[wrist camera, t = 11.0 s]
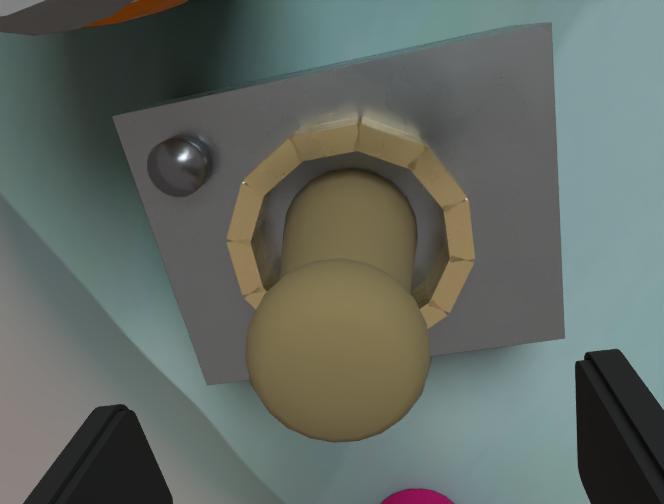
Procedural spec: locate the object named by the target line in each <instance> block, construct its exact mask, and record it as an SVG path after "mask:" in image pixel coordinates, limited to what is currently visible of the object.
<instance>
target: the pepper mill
mask: <svg viewBox="0 0 664 504" xmlns="http://www.w3.org/2000/svg"><path fill="white" fill-rule="evenodd" d="M381 504H454V503H453V502H452V501H450V500H449V499H448V498H447V497H446V496H444V495H442V494H439V493H437V492H435V491H431V490H426V489H408V490H404V491H400V492H397V493H395V494H393V495H391V496H389V497H388V498H387V499H386V500H384V501H383V502H382V503H381Z"/></svg>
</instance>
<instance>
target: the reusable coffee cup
mask: <svg viewBox="0 0 664 504" xmlns="http://www.w3.org/2000/svg"><path fill="white" fill-rule="evenodd" d="M187 1H188V0H0V32H5V33H15V34H25V35H40V34H48V33H56V32H64V31H72V30H76V29H79V28H81V27H92V26H100V25H108V24H116V23H121V22H124V21H128V20H132V19H136V18H140V17H144V16H148V15H151V14H155V13H159V12H162V11H165V10H167V9H170V8H173V7H176V6H178V5H181V4H184V3H185V2H187Z"/></svg>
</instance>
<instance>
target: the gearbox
mask: <svg viewBox="0 0 664 504" xmlns="http://www.w3.org/2000/svg"><path fill="white" fill-rule="evenodd" d="M112 118H113V121H114V124H115V127H116V129H117V132H118V135H119V138H120V141H121V144H122V146H123V149H124V152H125V155H126V158H127V161H128V163H129V166H130V169H131V172H132V175H133V178H134V180H135V183H136V186H137V189H138V192H139V194H140V197H141V200H142V203H143V206H144V209H145V211H146V214H147V217H148V220H149V223H150V226H151V228H152V231H153V234H154V237H155V240H156V242H157V245H158V248H159V251H160V254H161V257H162V259H163V262H164V265H165V268H166V271H167V274H168V276H169V279H170V282H171V285H172V288H173V290H174V293H175V296H176V299H177V302H178V305H179V307H180V310H181V313H182V316H183V319H184V322H185V324H186V327H187V330H188V333H189V336H190V338H191V341H192V344H193V347H194V350H195V353H196V355H197V358H198V361H199V364H200V367H201V370H202V372H203V375H204V378H205V381H206V384H207V385H214V384H221V383H229V382H237V381H244V380H250V377H249V373H248V369H247V365H246V356H245V350H246V341H247V333H248V326H249V324H250V321H251V319H252V317H253V315H254V313H255V311H256V309H257V307H258V306H259V304H260V302H261V300H262V298H263V296H264V294H265V293H266V292H267V291H268V290H269V289H271V288H272V287H273V286H274V285H275V284H276V283H277V282H278V281H280V269H281V256H282V244H283V232H284V225H285V218H286V212H287V210H288V208H289V206H290V204H291V202H292V200H293V198H294V197H295V195H296V194H297V193H298V192H299V191H300V190H301V189H302V188H303V187H304V186H305V185H306V184H307V183H308V182H309V181H310V180H312V179H314V178H316V177H318V176H321V175H323V174H325V173H327V172H329V171H334V170H342V169H350V168H353V169H359V170H364V171H370V172H374V173H376V174H378V175H380V176H382V177H383V178H385V179H387V180H389V181H391V182H393V183H394V184H395V185H396V186H397V187H398V188H399V190H400V191H401V192H402V193H403V194H404V195H405V196H406V197H407V198H408V200H409V202H410V205H411V207H412V209H413V211H414V213H415V216H416V221H417V232H418V240H417V247H416V255H415V262H414V270H413V277H412V285H411V293H410V294H411V296H412V297H413V298H414V299H415V301H416V303H417V305H418V307H419V309H420V311H421V313H422V315H423V317H424V319H425V321H426V323H427V328H428V332H429V340H430V352H431V356H435V355H443V354H450V353H458V352H466V351H473V350H481V349H488V348H496V347H504V346H511V345H519V344H527V343H534V342H542V341H549V340H557V339H565V329H564V306H563V282H562V258H561V235H560V211H559V187H558V163H557V140H556V116H555V92H554V69H553V45H552V22H550V23H538V24H526V25H514V26H508V27H503V28H498V29H494V30H489V31H485V32H480V33H475V34H471V35H466V36H461V37H457V38H452V39H447V40H443V41H438V42H433V43H429V44H424V45H420V46H415V47H410V48H406V49H401V50H396V51H392V52H387V53H382V54H378V55H373V56H368V57H364V58H359V59H355V60H350V61H345V62H341V63H336V64H331V65H327V66H322V67H317V68H313V69H308V70H303V71H299V72H294V73H289V74H285V75H280V76H276V77H271V78H266V79H262V80H257V81H252V82H248V83H243V84H238V85H234V86H229V87H224V88H220V89H215V90H211V91H206V92H201V93H197V94H192V95H187V96H183V97H178V98H173V99H169V100H164V101H161V102H158V103H154V104H151V105H148V106H144V107H141V108H138V109H135V110H131V111H128V112H125V113H121V114H118V115H115V116H112Z"/></svg>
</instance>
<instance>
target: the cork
mask: <svg viewBox="0 0 664 504" xmlns="http://www.w3.org/2000/svg"><path fill="white" fill-rule="evenodd" d="M417 240H418V232H417V221H416V216H415V213H414V211H413V209H412V207H411V205H410V202H409V200H408V198H407V197H406V196H405V195H404V194H403V193H402V192H401V191H400V190H399V188H398V187H397V186H396V185H395V184H394V183H393V182H391V181H389V180H387V179H385V178H383V177H382V176H380V175H378V174H376V173H374V172H370V171H364V170H359V169H353V168H350V169H342V170H334V171H329V172H327V173H325V174H323V175H321V176H318V177H316V178H314V179H312V180H310V181H309V182H308V183H307V184H306V185H305V186H304V187H303V188H302V189H301V190H300V191H299V192H298V193H297V194H296V195H295V197H294V198H293V200H292V202H291V204H290V206H289V208H288V210H287V212H286V218H285V225H284V232H283V244H282V256H281V269H280V281H278V282H277V283H276V284H275V285H274V286H273V287H272V288H271V289H269V290H268V291H267V292H266V293H265V294H264V296H263V298H262V300H261V302H260V304H259V306H258V307H257V309H256V311H255V313H254V315H253V317H252V319H251V321H250V324H249V326H248V333H247V341H246V350H245V356H246V365H247V369H248V373H249V377H250V381H251V385H252V387H253V388H254V390H255V391H256V393H257V394H258V396H259V398H260V399H261V401H262V402H263V404H264V405H265V407H266V408H267V410H268V411H269V413H270V414H272V415H273V416H274V417H275V418H276V419H278V420H279V421H280V422H281V423H282V424H284V425H285V426H286V427H287V428H289V429H291V430H293V431H296V432H298V433H300V434H302V435H304V436H306V437H309V438H313V439H318V440H323V441H329V442H348V441H359V440H362V439H365V438H368V437H371V436H374V435H377V434H380V433H382V432H384V431H385V430H387V429H388V428H389V427H391V426H392V425H394V424H395V423H397V422H398V421H400V420H401V419H402V418H403V417H404V416H405V415H406V414H407V413H408V412H409V410H410V409H411V408H412V406H413V405H414V404H415V402H416V401H417V400H418V398H419V397H420V396H421V394H422V391H423V388H424V384H425V381H426V378H427V374H428V371H429V367H430V362H431V352H430V340H429V332H428V328H427V323H426V321H425V319H424V317H423V315H422V313H421V311H420V309H419V307H418V305H417V303H416V301H415V299H414V298H413V297H412V296H411V294H410V293H411V285H412V277H413V270H414V262H415V255H416V247H417Z"/></svg>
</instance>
